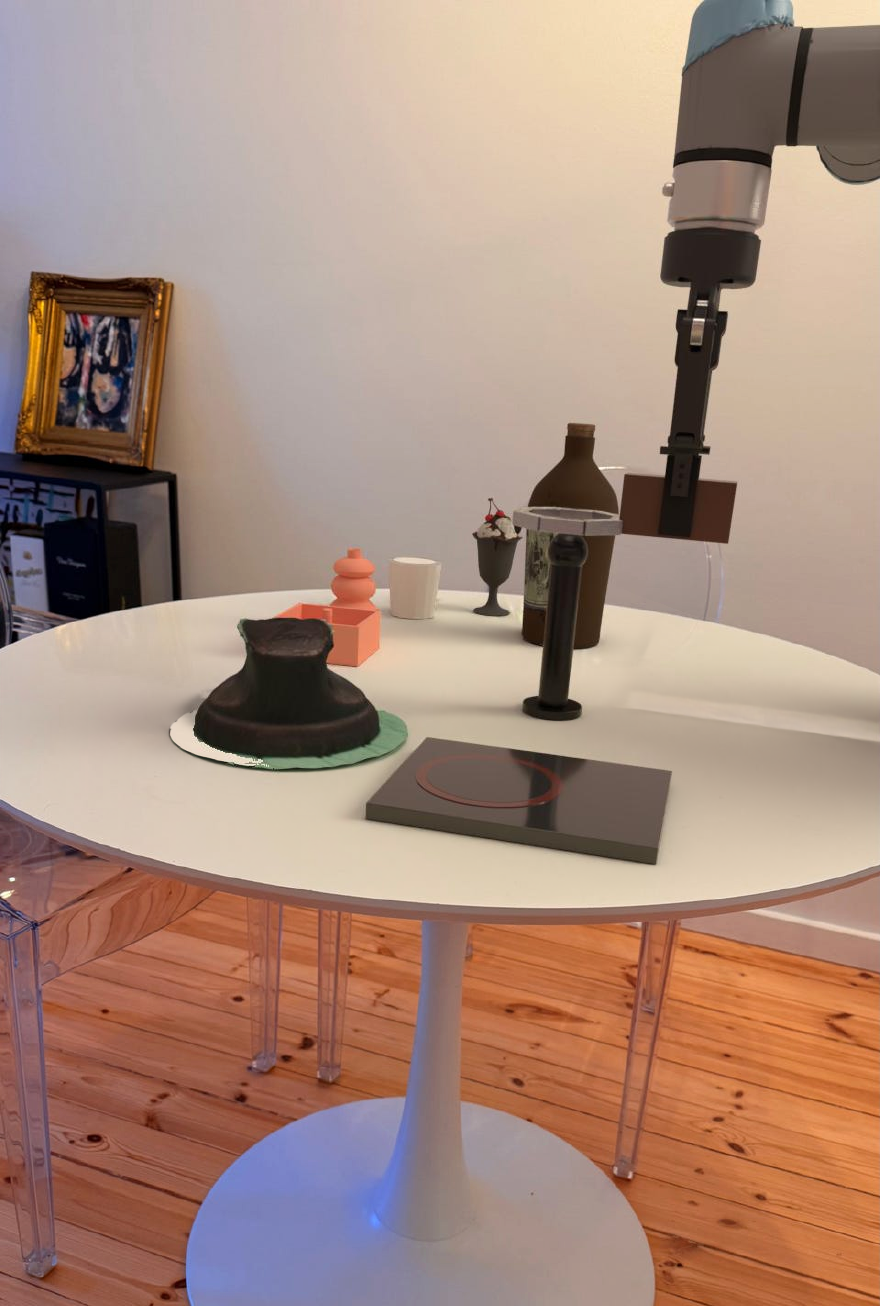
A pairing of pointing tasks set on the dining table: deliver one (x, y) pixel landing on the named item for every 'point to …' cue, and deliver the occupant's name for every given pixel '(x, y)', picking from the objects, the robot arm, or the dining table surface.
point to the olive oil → (580, 489)
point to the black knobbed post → (559, 631)
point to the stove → (528, 799)
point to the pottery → (348, 611)
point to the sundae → (495, 556)
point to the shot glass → (413, 586)
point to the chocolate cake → (293, 703)
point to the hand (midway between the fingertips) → (675, 532)
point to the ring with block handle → (640, 512)
